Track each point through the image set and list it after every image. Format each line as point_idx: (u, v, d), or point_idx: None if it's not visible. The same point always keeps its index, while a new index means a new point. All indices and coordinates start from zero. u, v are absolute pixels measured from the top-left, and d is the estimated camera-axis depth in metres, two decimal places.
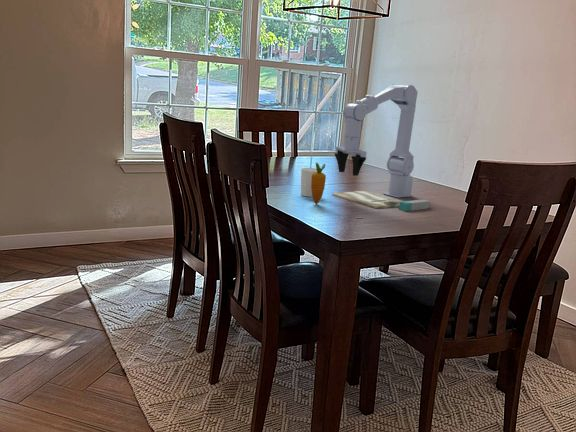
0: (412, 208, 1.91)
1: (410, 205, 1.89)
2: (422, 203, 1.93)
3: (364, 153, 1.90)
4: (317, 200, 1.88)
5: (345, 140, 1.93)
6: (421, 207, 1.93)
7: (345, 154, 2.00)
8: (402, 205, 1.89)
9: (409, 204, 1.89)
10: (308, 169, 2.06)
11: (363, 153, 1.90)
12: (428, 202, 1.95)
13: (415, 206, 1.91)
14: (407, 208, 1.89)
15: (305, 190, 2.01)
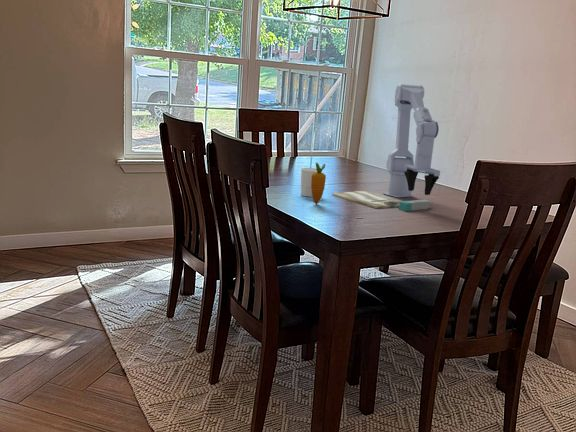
0: (412, 208, 1.91)
1: (410, 205, 1.89)
2: (422, 203, 1.93)
3: (438, 172, 1.85)
4: (317, 200, 1.88)
5: (417, 159, 1.89)
6: (421, 207, 1.93)
7: (415, 172, 1.95)
8: (402, 205, 1.89)
9: (409, 204, 1.89)
10: (308, 169, 2.06)
11: (437, 172, 1.85)
12: (428, 202, 1.95)
13: (415, 206, 1.91)
14: (407, 208, 1.89)
15: (305, 190, 2.01)
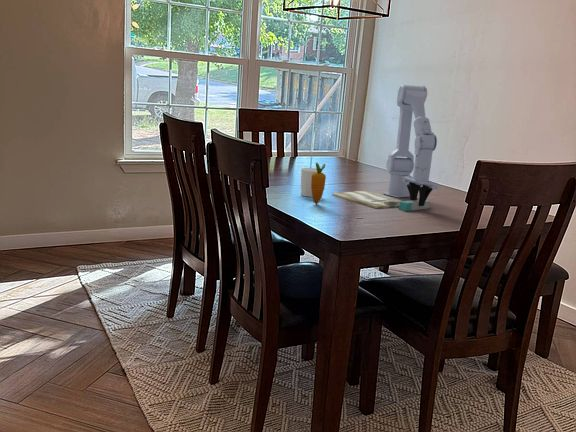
0: (412, 208, 1.91)
1: (410, 205, 1.89)
2: None
3: (436, 185, 1.87)
4: (317, 200, 1.88)
5: (415, 171, 1.90)
6: (421, 207, 1.93)
7: (417, 185, 1.95)
8: (402, 205, 1.89)
9: (409, 204, 1.89)
10: (308, 169, 2.06)
11: (435, 185, 1.86)
12: (428, 202, 1.95)
13: (415, 206, 1.91)
14: (407, 208, 1.89)
15: (305, 190, 2.01)
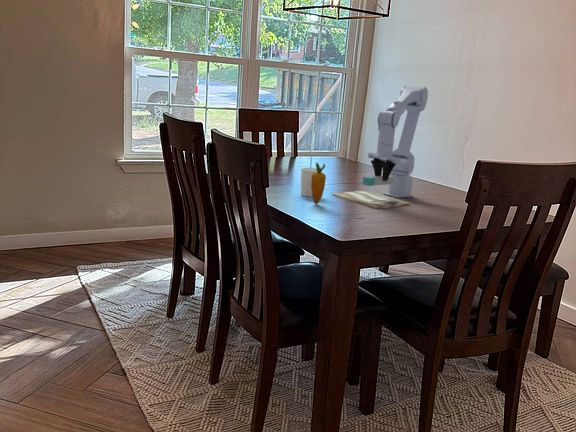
0: (375, 183, 1.96)
1: (373, 180, 1.95)
2: None
3: (398, 160, 1.92)
4: (317, 200, 1.88)
5: (379, 147, 1.96)
6: (384, 182, 1.99)
7: (381, 161, 2.00)
8: (365, 180, 1.95)
9: (372, 179, 1.94)
10: (308, 169, 2.06)
11: (397, 160, 1.92)
12: (391, 177, 2.01)
13: (379, 181, 1.97)
14: (370, 183, 1.94)
15: (305, 190, 2.01)
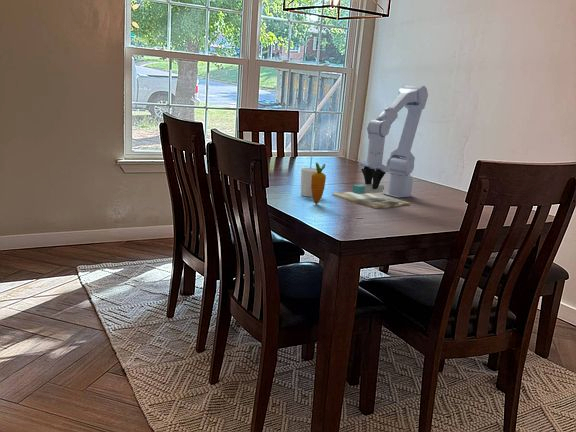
0: (365, 191, 1.99)
1: (363, 188, 1.98)
2: None
3: (388, 168, 1.95)
4: (317, 200, 1.88)
5: (369, 155, 1.98)
6: (374, 190, 2.02)
7: (372, 169, 2.03)
8: (355, 188, 1.98)
9: (362, 187, 1.97)
10: (308, 169, 2.06)
11: (387, 168, 1.94)
12: (381, 186, 2.03)
13: (368, 189, 1.99)
14: (360, 191, 1.97)
15: (305, 190, 2.01)
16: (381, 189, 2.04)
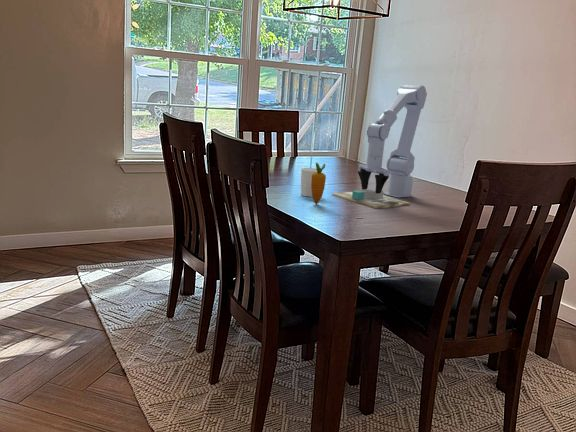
0: (365, 197, 1.99)
1: (362, 194, 1.98)
2: (375, 192, 2.02)
3: (387, 172, 1.95)
4: (317, 200, 1.88)
5: (368, 159, 1.98)
6: (374, 196, 2.02)
7: (368, 172, 2.05)
8: (355, 194, 1.98)
9: (361, 193, 1.98)
10: (308, 169, 2.06)
11: (386, 172, 1.95)
12: (381, 191, 2.04)
13: (368, 195, 2.00)
14: (359, 197, 1.98)
15: (305, 190, 2.01)
16: (381, 195, 2.04)
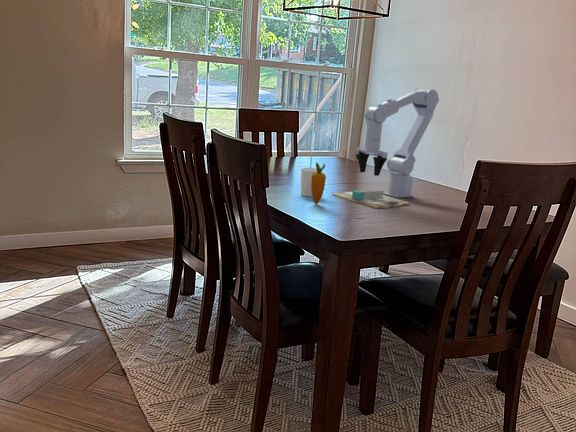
0: (365, 197, 1.99)
1: (362, 194, 1.98)
2: (375, 192, 2.02)
3: (385, 154, 1.99)
4: (317, 200, 1.88)
5: (367, 142, 2.02)
6: (374, 196, 2.02)
7: (366, 155, 2.08)
8: (355, 194, 1.98)
9: (361, 193, 1.98)
10: (308, 169, 2.06)
11: (384, 154, 1.99)
12: (381, 191, 2.04)
13: (368, 195, 2.00)
14: (359, 197, 1.98)
15: (305, 190, 2.01)
16: (381, 195, 2.04)
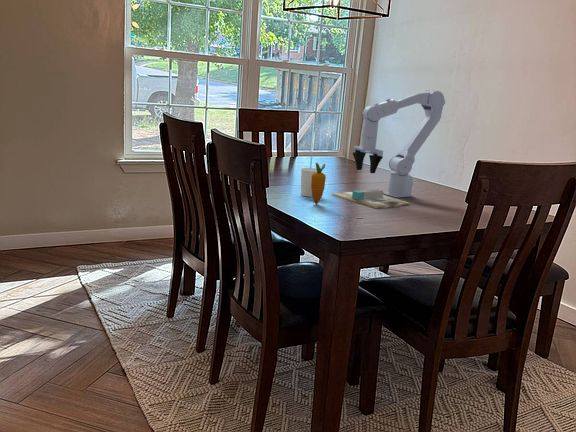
0: (365, 197, 1.99)
1: (362, 194, 1.98)
2: (375, 192, 2.02)
3: (381, 152, 2.04)
4: (317, 200, 1.88)
5: (363, 140, 2.07)
6: (374, 196, 2.02)
7: (362, 153, 2.13)
8: (355, 194, 1.98)
9: (361, 193, 1.98)
10: (308, 169, 2.06)
11: (380, 152, 2.03)
12: (381, 191, 2.04)
13: (368, 195, 2.00)
14: (359, 197, 1.98)
15: (305, 190, 2.01)
16: (381, 195, 2.04)
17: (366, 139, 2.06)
